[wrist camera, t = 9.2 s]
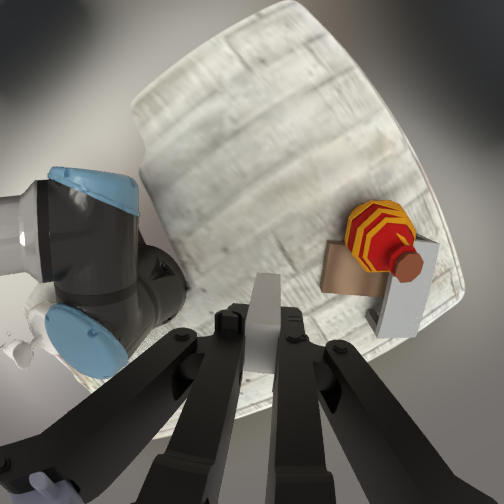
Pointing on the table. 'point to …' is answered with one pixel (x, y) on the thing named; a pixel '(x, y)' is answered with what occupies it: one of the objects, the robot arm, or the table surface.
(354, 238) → the potion bottle
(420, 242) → the shelf
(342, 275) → the panel
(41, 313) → the potted plant
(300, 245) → the table surface
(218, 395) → the robot arm
